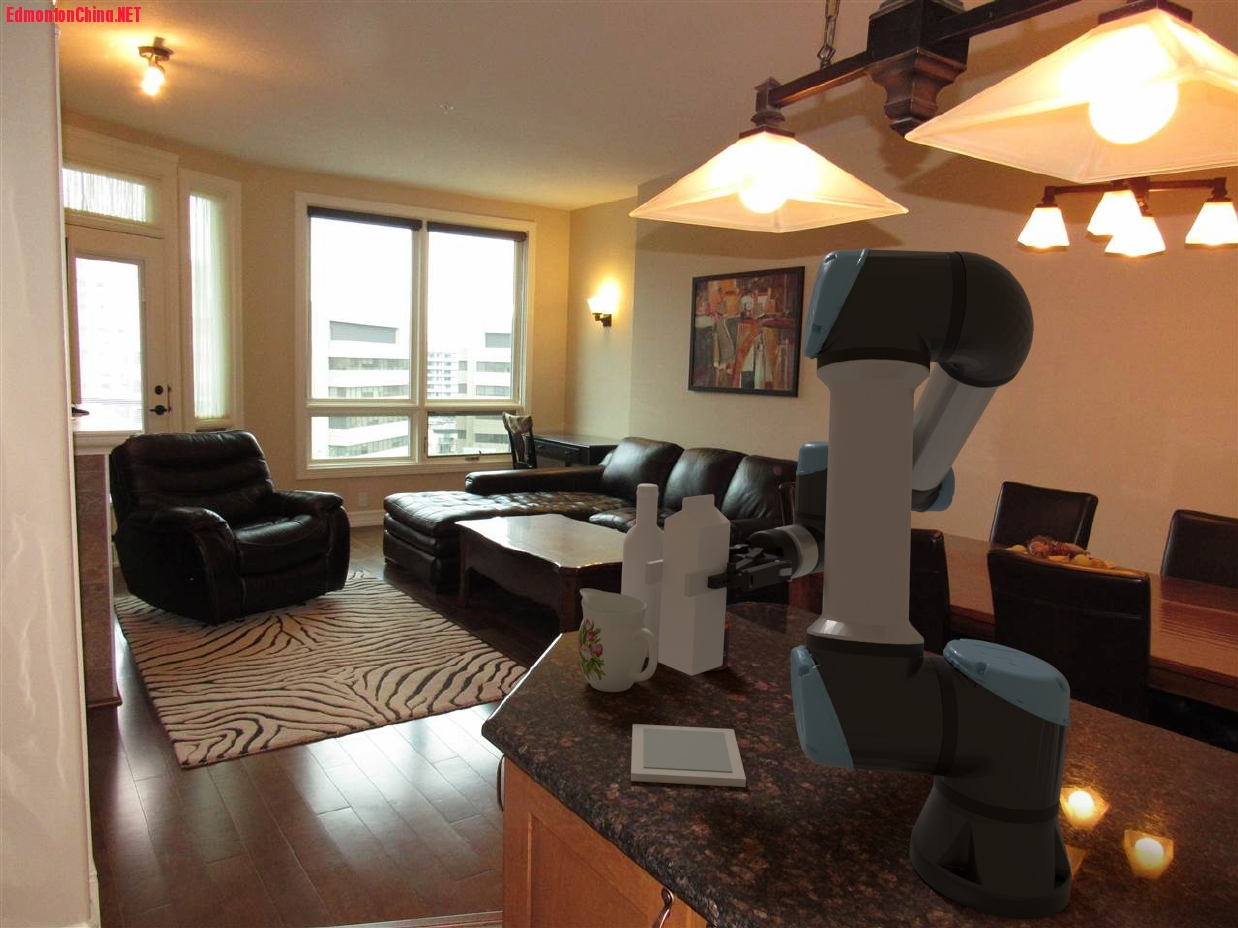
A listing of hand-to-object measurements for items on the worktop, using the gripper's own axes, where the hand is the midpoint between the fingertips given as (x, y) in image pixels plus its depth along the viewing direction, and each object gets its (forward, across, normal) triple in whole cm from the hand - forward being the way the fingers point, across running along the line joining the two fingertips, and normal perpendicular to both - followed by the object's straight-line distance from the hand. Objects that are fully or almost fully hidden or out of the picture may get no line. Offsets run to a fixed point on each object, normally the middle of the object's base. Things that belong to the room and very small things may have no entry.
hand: (667, 579), depth 101 cm
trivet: (-5, 0, -24) cm, 25 cm away
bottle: (-29, +32, -25) cm, 50 cm away
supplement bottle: (-33, +20, -25) cm, 46 cm away
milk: (-5, 0, -12) cm, 13 cm away
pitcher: (-14, +23, -25) cm, 37 cm away
